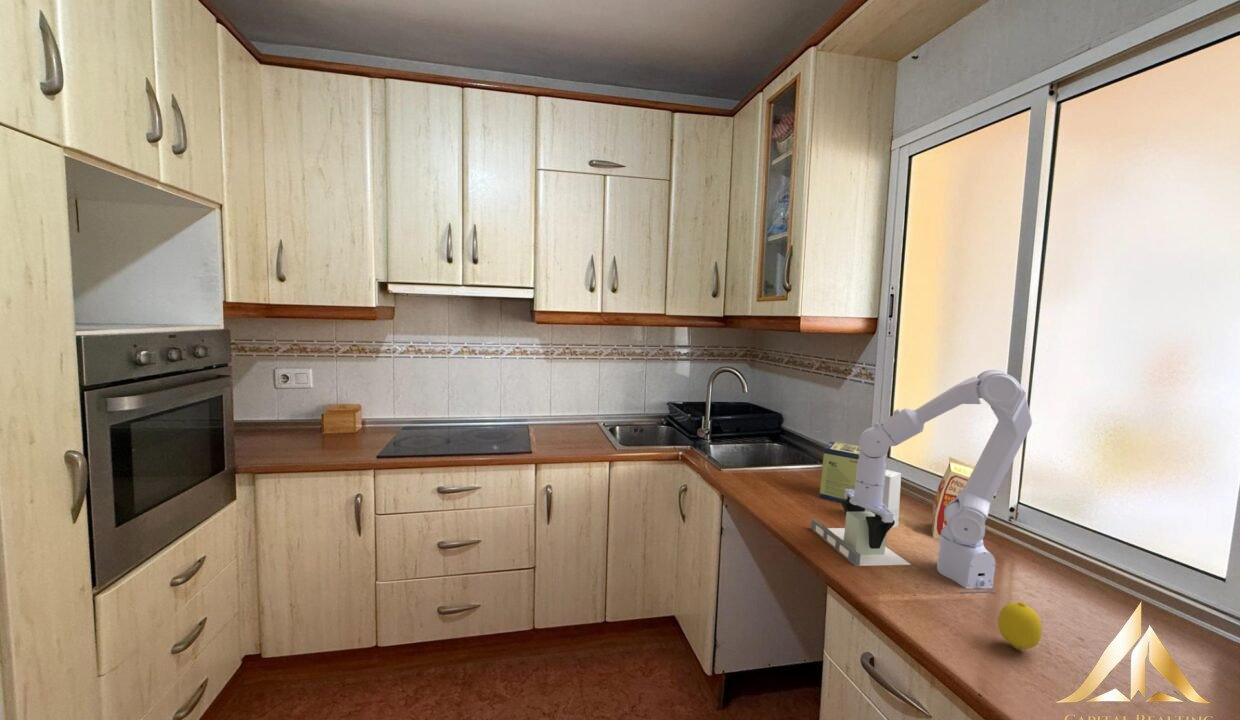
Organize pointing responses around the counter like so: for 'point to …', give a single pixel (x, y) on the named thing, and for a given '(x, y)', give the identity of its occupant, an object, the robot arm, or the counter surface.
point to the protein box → (838, 470)
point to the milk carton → (949, 492)
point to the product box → (860, 534)
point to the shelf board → (837, 541)
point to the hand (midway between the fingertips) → (863, 539)
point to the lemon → (1020, 625)
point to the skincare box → (892, 494)
